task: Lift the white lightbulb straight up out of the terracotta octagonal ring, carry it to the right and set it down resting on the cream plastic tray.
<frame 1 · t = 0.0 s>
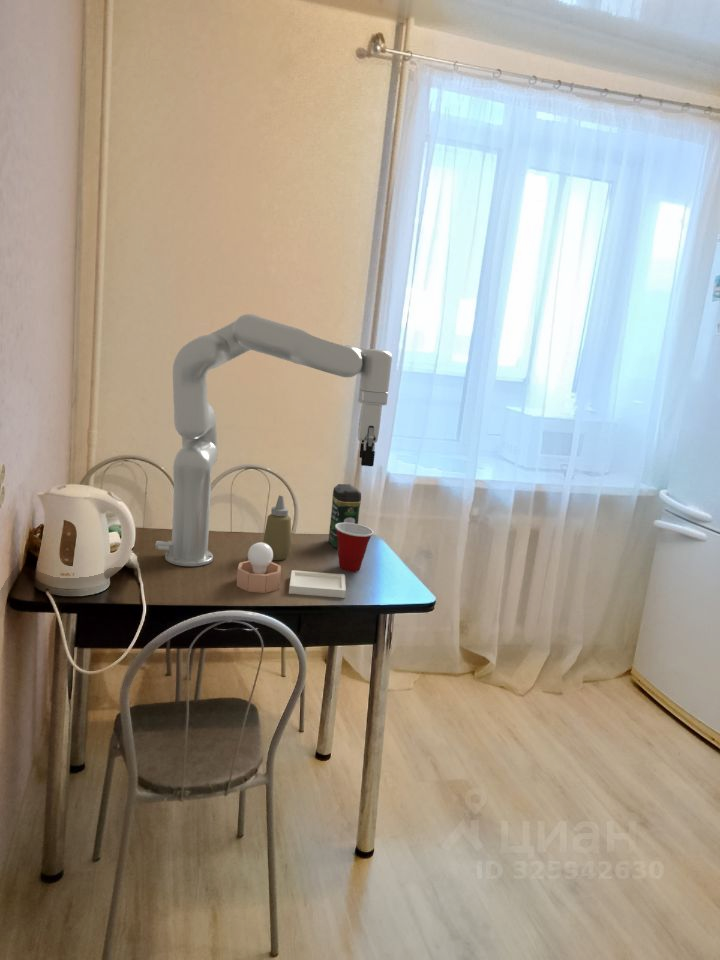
hand: (366, 461, 192), 31 cm above the table, fingers open, 9 cm apart
plastic cup: (350, 569, 202), on the table
tray: (317, 587, 186), on the table
lightbulb: (258, 584, 184), resting in terracotta octagonal ring
squeeze bottle: (275, 557, 204), on the table
terracotta octagonal ring: (258, 584, 184), on the table
coffee jar: (341, 545, 221), on the table
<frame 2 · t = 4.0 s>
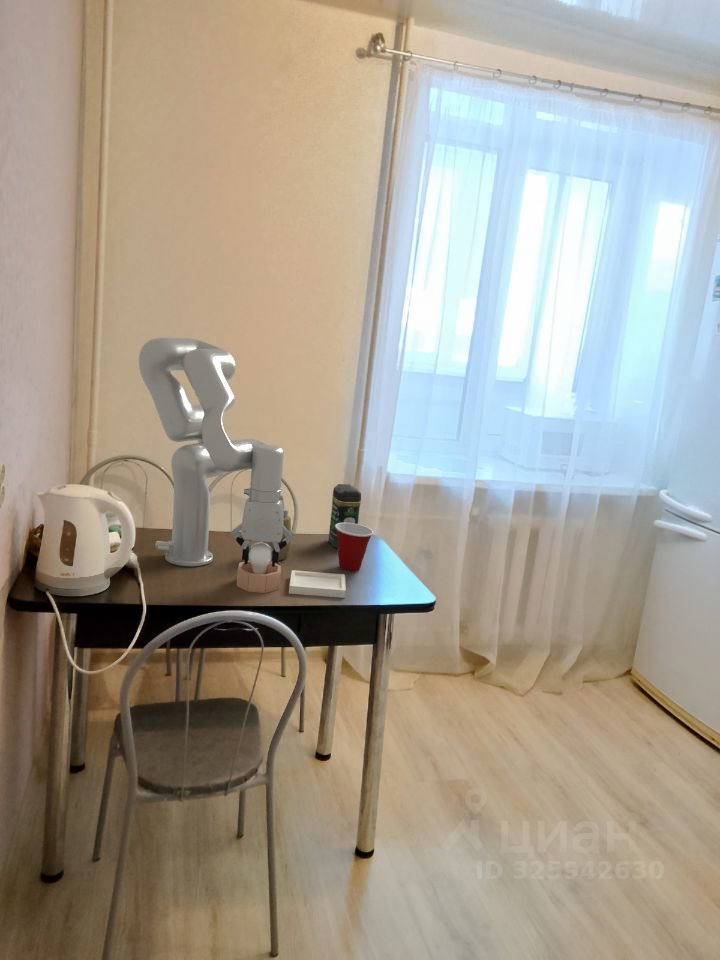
hand: (259, 563, 182), 6 cm above the table, fingers closed on lightbulb, 6 cm apart
lightbulb: (258, 584, 184), resting in terracotta octagonal ring, touching gripper
everything else where it was.
when the fingers open (8 cm above the table, at t = 10.6 s): lightbulb drops 1 cm, resting on tray.
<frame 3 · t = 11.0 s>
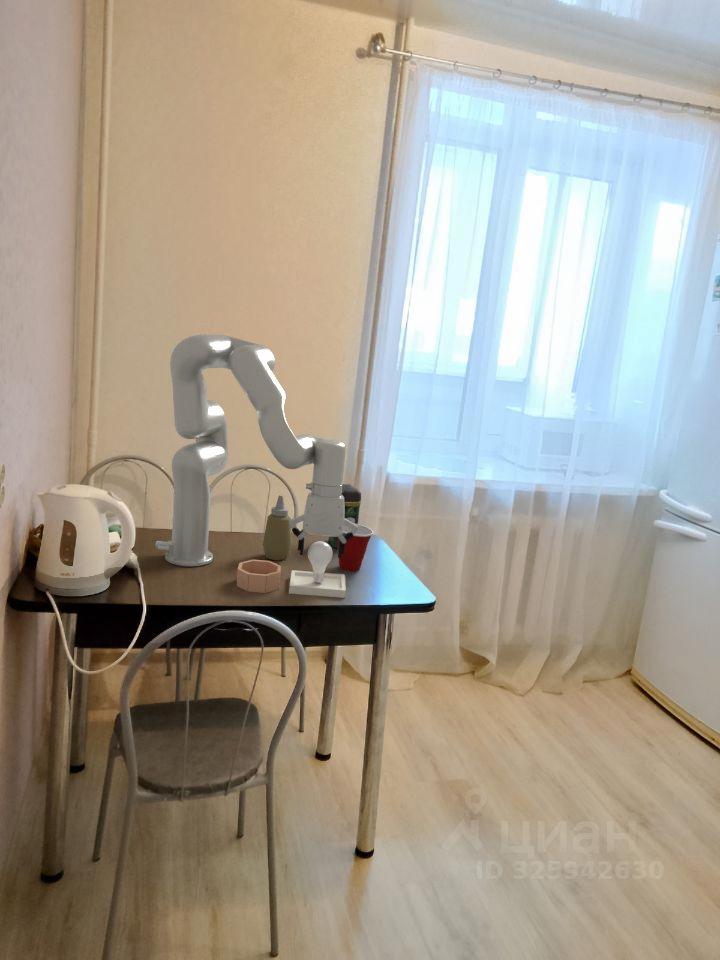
hand: (320, 554, 184), 9 cm above the table, fingers open, 9 cm apart
lightbulb: (318, 583, 185), point 1 cm above the table, touching tray
everything else where it was.
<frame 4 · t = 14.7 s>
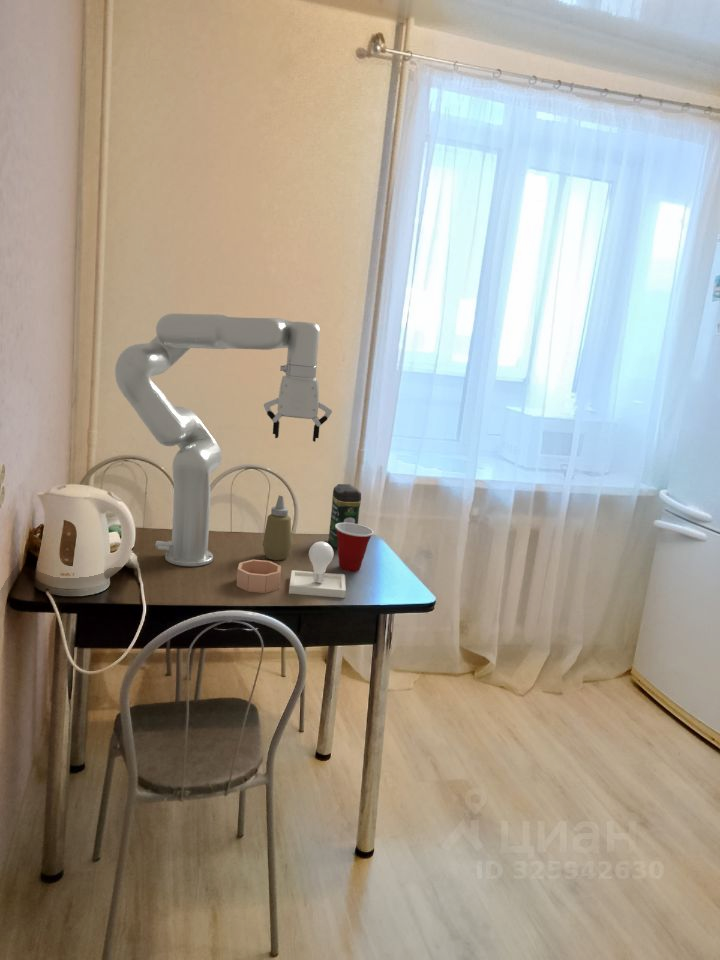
hand: (295, 439, 185), 36 cm above the table, fingers open, 9 cm apart
nothing on the table moved.
at the end: lightbulb inside the target area on the tray (0.1 cm from its centre), point 1.0 cm above the tray's base; the gripper is holding nothing; lightbulb touching tray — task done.
